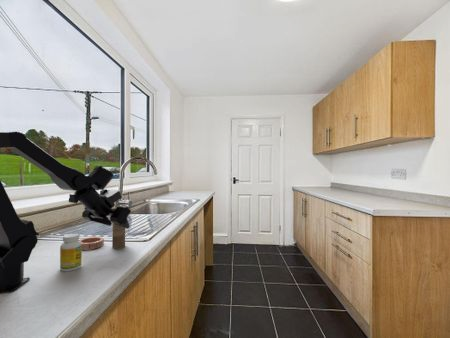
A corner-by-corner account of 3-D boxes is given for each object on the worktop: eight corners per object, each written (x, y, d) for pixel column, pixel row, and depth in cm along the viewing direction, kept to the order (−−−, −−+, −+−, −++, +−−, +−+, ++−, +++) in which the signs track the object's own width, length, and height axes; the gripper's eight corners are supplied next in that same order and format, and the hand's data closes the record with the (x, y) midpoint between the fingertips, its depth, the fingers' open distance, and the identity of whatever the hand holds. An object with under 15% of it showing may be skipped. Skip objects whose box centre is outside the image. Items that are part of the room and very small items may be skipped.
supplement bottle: (64, 265, 72) (64, 233, 72) (84, 263, 74) (84, 232, 74) (56, 272, 67) (57, 238, 67) (77, 270, 68) (78, 237, 68)
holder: (98, 249, 86) (99, 243, 86) (73, 250, 85) (73, 244, 85) (106, 242, 95) (107, 236, 95) (83, 242, 93) (83, 237, 93)
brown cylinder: (123, 248, 88) (123, 217, 88) (110, 248, 87) (111, 217, 87) (126, 244, 92) (126, 214, 92) (114, 245, 91) (114, 215, 91)
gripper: (126, 183, 81) (149, 210, 91) (89, 181, 89) (114, 206, 99) (106, 210, 74) (133, 236, 84) (68, 205, 82) (97, 230, 92)
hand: (119, 226), depth 90 cm, fingers open, 9 cm apart
